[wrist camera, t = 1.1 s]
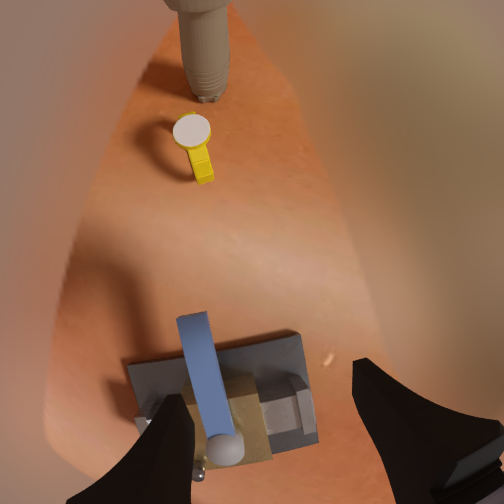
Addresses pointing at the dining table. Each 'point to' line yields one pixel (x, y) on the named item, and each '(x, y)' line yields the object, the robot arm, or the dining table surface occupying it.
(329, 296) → the dining table surface
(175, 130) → the watch
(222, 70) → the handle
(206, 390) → the lever
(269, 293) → the dining table surface
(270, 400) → the valve
